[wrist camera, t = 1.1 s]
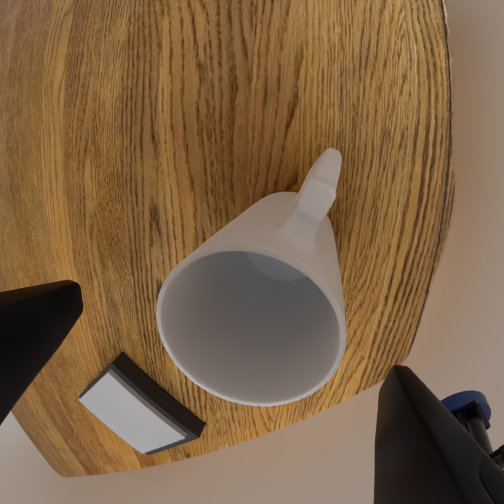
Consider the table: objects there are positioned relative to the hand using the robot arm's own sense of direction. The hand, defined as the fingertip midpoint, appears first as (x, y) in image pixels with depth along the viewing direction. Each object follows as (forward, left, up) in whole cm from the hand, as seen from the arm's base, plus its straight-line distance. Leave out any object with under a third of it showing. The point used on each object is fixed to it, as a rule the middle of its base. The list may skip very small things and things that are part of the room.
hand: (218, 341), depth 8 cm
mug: (-1, -1, -14) cm, 15 cm away
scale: (-5, +28, -14) cm, 32 cm away
